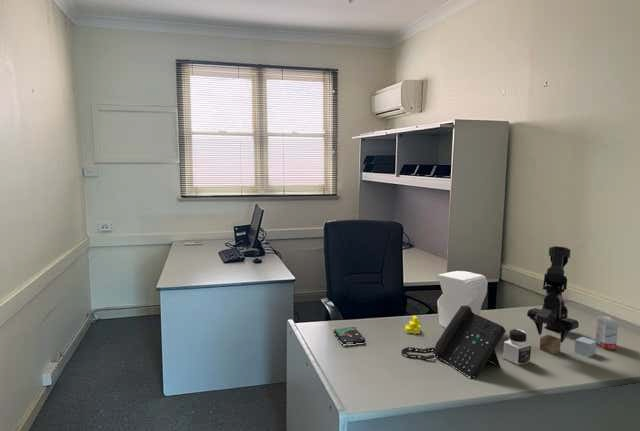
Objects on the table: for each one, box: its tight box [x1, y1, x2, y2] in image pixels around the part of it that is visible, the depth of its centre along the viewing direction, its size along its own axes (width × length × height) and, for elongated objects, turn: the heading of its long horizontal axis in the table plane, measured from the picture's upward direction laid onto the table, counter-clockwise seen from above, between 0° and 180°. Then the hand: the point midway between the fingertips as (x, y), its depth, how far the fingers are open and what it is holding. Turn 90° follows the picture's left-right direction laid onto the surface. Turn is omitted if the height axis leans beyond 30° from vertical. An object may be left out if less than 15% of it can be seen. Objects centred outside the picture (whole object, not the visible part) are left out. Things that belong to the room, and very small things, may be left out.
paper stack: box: [435, 270, 489, 329], centre depth 204 cm, size 21×27×26 cm
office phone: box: [401, 306, 507, 377], centre depth 169 cm, size 29×28×20 cm
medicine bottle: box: [502, 328, 532, 366], centre depth 170 cm, size 7×7×12 cm
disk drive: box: [333, 326, 366, 344], centre depth 191 cm, size 10×3×15 cm
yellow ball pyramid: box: [404, 315, 422, 333], centre depth 199 cm, size 6×8×8 cm
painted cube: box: [574, 336, 597, 358], centre depth 177 cm, size 6×6×6 cm
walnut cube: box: [539, 334, 562, 355], centre depth 179 cm, size 6×6×6 cm
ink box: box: [594, 315, 619, 351], centre depth 184 cm, size 9×5×12 cm, turn 168°
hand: (550, 338), depth 179 cm, fingers open, 9 cm apart
